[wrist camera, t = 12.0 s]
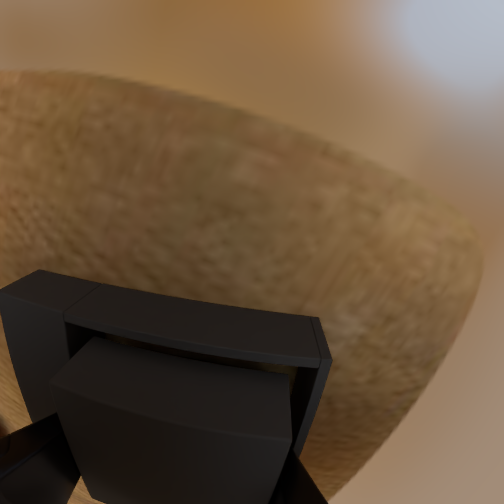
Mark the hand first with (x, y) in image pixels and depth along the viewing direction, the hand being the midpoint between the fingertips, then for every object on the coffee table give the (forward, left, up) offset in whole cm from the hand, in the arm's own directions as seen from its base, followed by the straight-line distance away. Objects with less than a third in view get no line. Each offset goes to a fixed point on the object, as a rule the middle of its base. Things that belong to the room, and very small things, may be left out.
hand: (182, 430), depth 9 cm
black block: (0, 0, 0) cm, 0 cm away
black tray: (+1, 0, -2) cm, 3 cm away
